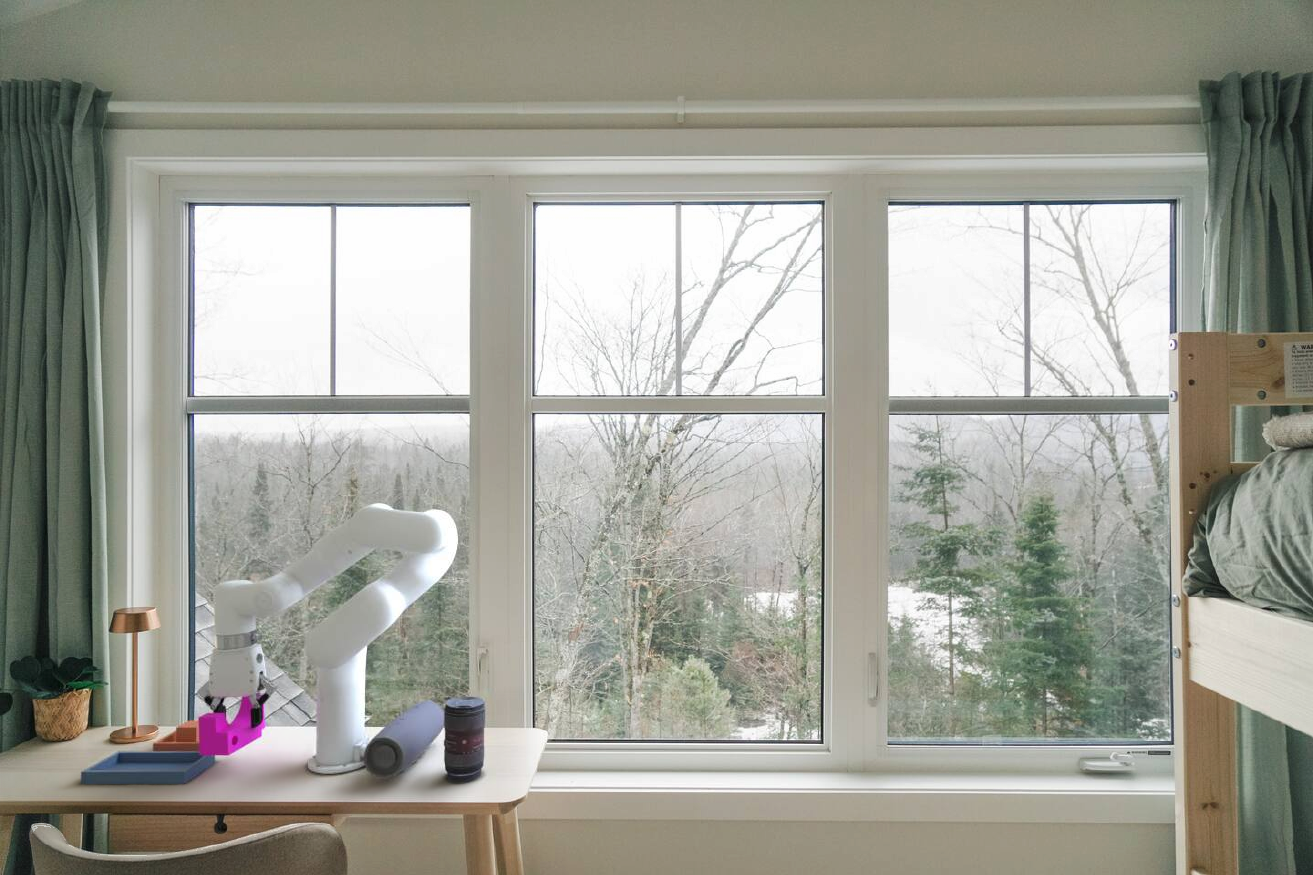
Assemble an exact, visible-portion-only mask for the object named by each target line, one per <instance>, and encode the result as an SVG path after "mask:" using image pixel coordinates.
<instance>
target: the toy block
mask: <svg viewBox="0 0 1313 875" xmlns="http://www.w3.org/2000/svg"><path fill="white" fill-rule="evenodd" d="M261 693H262V695H263V694H264V693H265V692H264V693H263V692H261ZM252 708H253V705H252V703H251V702H250V700H249V698H248V696H245V697H241V702H240V705H239V709H238V712H237V714H236V716H235V717H234V719H233V720H232V721H231V722H230V723H229V722H228V720H227V715H226V716H225V713H213V712H206V713H205V714H204V713H203V715H200V716H198V720H197V721H199V753H200V755H215V756H218V757H219V756H221V757H222V756H224V757H229V756H231V755H232V754H235V753H236V752H237V751H240V750H241V749H242V748H244V747H246V746H248V745H249V744H251V743H253V742H255V741H256V740H258V739H260V738H262V736H263V732H262V731H263V730H264V729H266V720H265V719H266V718H265V713H266V712H265V704H263V721H262V723H261V724H260V725H259V726H257V727H256V728H252V727H251V709H252Z"/></svg>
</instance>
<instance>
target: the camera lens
mask: <svg viewBox="0 0 1313 875" xmlns="http://www.w3.org/2000/svg"><path fill="white" fill-rule="evenodd" d="M443 712H444V727H443V729H444V739H443V747H444V753H443V754H444V755H443V762H444V770H445V771H446V775H447V776H446V777H447V780H448V781H450V782H453V783H462V784H463V783H468V782H472V781H475V780H478V779H479V778H480V777H481V776H482V769H483V767H484V762H485V761H484V760H485V726H486V705H485V700H484V699H483V698H482V697H476V696H459V697H453V698H450V699H448V700H447V701H446V702H445V707H444V710H443Z"/></svg>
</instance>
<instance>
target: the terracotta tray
mask: <svg viewBox="0 0 1313 875" xmlns="http://www.w3.org/2000/svg"><path fill="white" fill-rule="evenodd" d="M152 751H199V742H176V729H175V730H174V731H171V733H169V734H167V735H165V736H164V737H163V736H162V738H160V739H158V740H156V741H155V742H153V743H152Z"/></svg>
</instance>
